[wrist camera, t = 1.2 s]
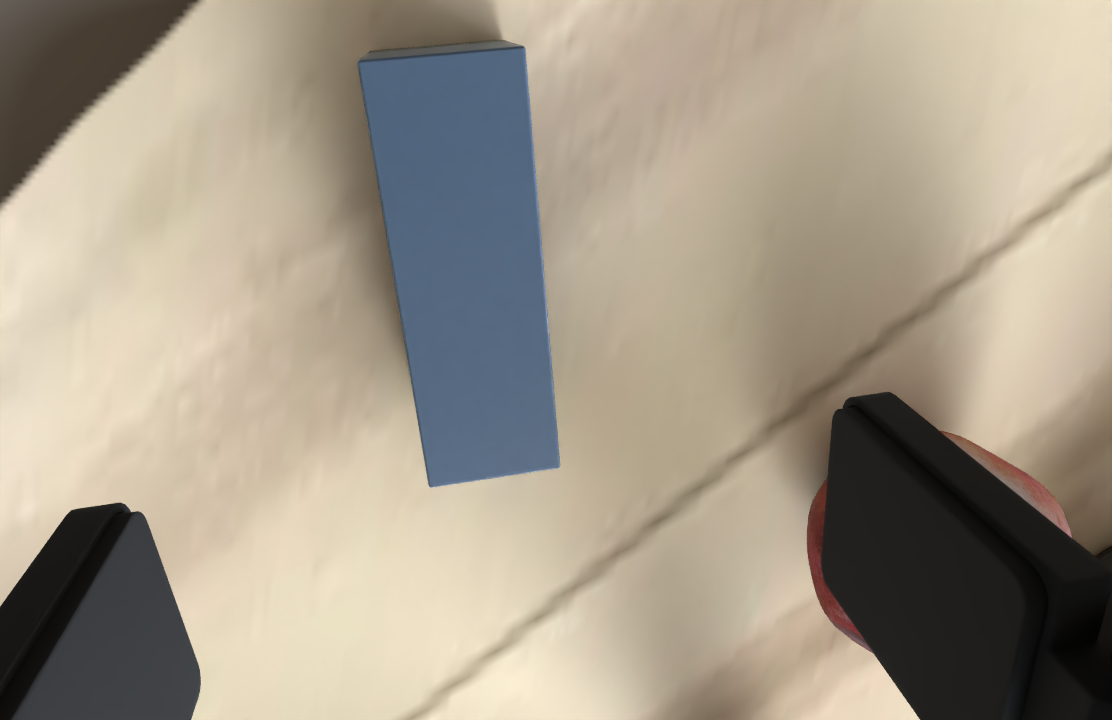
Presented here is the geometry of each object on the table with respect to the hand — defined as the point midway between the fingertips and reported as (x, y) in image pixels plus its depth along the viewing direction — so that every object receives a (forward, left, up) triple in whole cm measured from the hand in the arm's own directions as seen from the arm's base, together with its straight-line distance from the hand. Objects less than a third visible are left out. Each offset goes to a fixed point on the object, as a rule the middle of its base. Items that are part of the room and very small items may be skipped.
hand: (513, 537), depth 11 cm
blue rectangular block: (0, 0, -17) cm, 17 cm away
